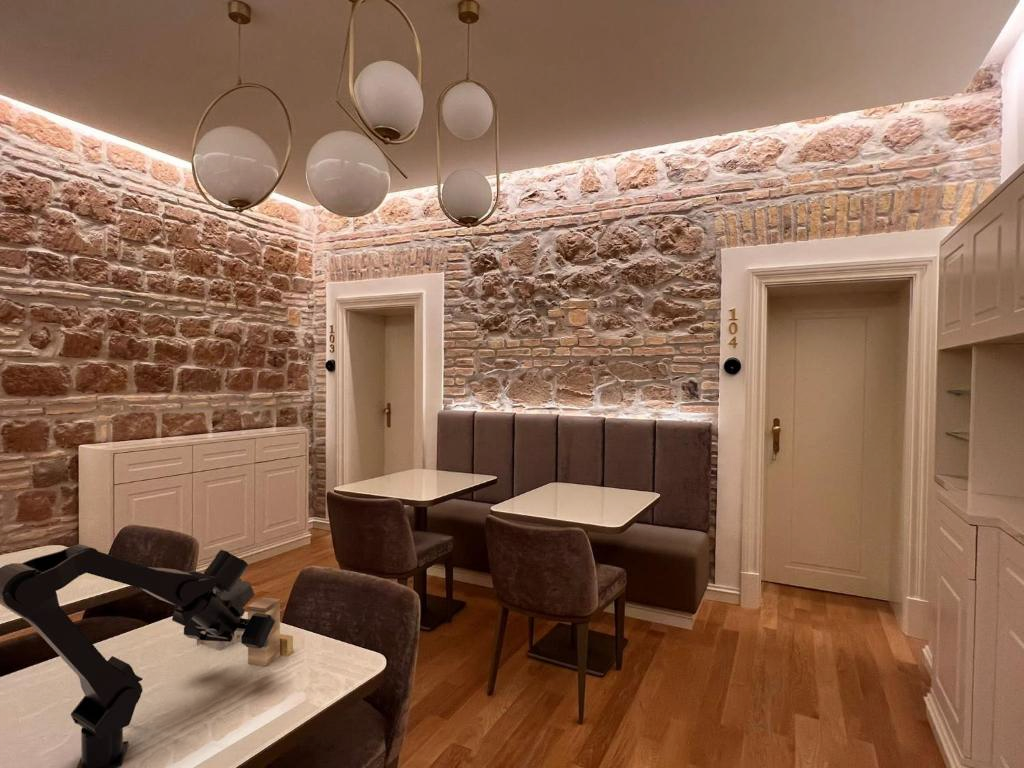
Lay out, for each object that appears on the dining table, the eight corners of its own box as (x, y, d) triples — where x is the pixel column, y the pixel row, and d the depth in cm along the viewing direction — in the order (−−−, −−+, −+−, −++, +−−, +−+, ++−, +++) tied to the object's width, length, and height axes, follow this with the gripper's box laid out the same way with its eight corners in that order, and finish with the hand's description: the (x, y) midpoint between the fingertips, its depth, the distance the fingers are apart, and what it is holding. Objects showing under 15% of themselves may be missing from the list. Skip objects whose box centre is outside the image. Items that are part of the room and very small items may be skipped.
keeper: (265, 666, 125) (264, 608, 125) (247, 663, 126) (247, 606, 126) (280, 655, 130) (280, 599, 130) (263, 652, 131) (263, 597, 131)
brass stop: (287, 656, 130) (287, 639, 130) (257, 652, 132) (257, 635, 132) (292, 652, 132) (292, 635, 132) (263, 648, 134) (263, 631, 134)
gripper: (269, 577, 116) (302, 610, 127) (194, 569, 121) (232, 601, 132) (241, 632, 108) (278, 662, 119) (162, 621, 113) (205, 650, 124)
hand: (248, 641), depth 124 cm, fingers open, 9 cm apart
